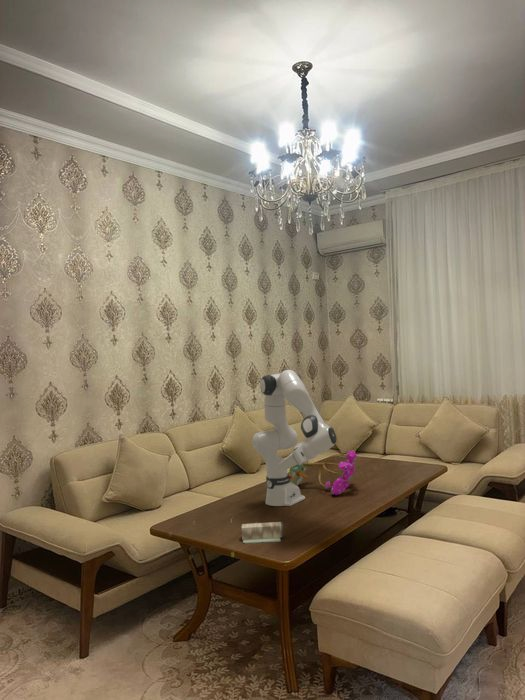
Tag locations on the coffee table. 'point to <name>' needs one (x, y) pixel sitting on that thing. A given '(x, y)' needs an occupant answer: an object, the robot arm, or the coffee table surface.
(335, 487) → the chameleon on flowering branch
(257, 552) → the coffee table surface
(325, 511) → the coffee table surface
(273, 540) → the sage mat
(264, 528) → the maple block
